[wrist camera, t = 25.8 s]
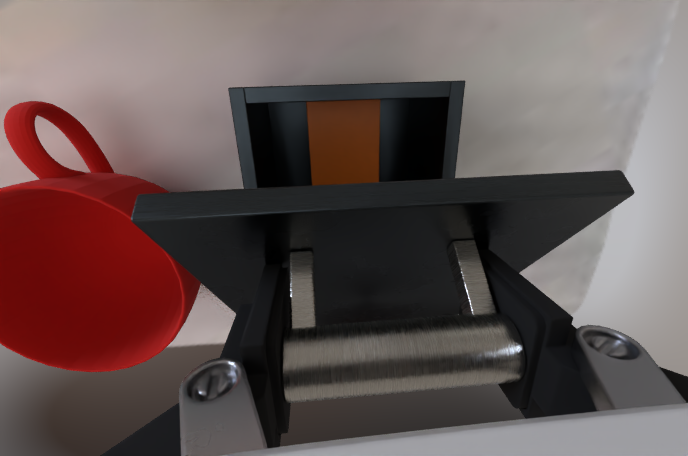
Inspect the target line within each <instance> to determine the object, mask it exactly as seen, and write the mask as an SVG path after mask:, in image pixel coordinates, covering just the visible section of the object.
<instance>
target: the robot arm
mask: <svg viewBox="0 0 688 456" xmlns="http://www.w3.org/2000/svg"><path fill="white" fill-rule="evenodd" d="M478 253H479V256H480V260H481V263H482V266H483V269H484V273H485V276H486V279H487V282H488V286H489V289H490V292H491V295H492V298H493V302H494V305H495V308H496V311H497V312H501V313H504V314H506V315H507V316H508V317H509V318H510V319H511V320H512V321H513V322H514V324H515V325H516V327H517V329H518V330H519V333H520V335H521V337H522V340H523V343H524V347H525V352H526V370H525V373H524V376H523V377H522V378H521V379H520V380H519V381H517V382H511V383H500V384H499V386H500V388H501V389H502V391H503V392H504V394H505V395H506V397H507V398H508V400H509V401H510V402H511V404H512V405H513V407H515V408H519V409H520V411H521V412H522V414H523V415H524V417H525V418H526V419H520V420H511V421H503V422H493V423H483V424H474V425H465V426H456V427H446V428H437V429H428V430H420V431H411V432H401V433H393V434H384V435H375V436H367V437H358V438H350V439H340V440H332V441H323V442H315V443H307V444H299V445H291V446H284V447H280V439H281V434H282V433H287V432H288V428H289V416H290V404H291V403H287V402H285V400H284V398H283V393H282V386H281V343H282V336H283V332H284V330H285V329H286V328H290V278H289V270H288V267H287V268H283V267H282V264H271V265H265V266H264V269H263V273H262V276H261V279H260V282H259V285H258V288H257V292H256V295H255V298H254V301H253V303H252V304H242V305H240V307H239V309H238V311H237V314H236V317H235V319H234V322H233V325H232V327H231V330H230V333H229V335H228V338H227V340H226V343H225V346H224V348H223V351H222V354H221V356H220V358H217V359H213V360H210V361H207V362H205V363H203V364H201V365H199V366H198V367H196V368H195V369H194V370H192V371H191V372H190V373H189V374H188V375H187V376H186V377H185V378H184V380H183V382H182V384H181V386H180V391H179V403H178V404H176V405H175V406H173V407H172V408H170V409H169V410H167V411H166V412H164V413H163V414H161V415H160V416H159V417H157V418H155V419H154V420H152V421H151V422H150V423H148V424H147V425H145V426H144V427H142V428H141V429H139V430H138V431H136V432H135V433H133V434H132V435H130V436H129V437H127V438H126V439H125V440H123V441H121V442H120V443H119V444H117V445H116V446H114V447H113V448H111V449H110V450H108V451H107V452H105V453H104V454H102V455H101V456H688V377H687V376H684V375H681V374H678V373H675V372H672V371H670V370H667V369H664V368H661V367H658V365H657V364H656V363H655V361H654V360H653V359H652V358H651V356H650V355H649V354H648V352H647V351H646V350H645V349H644V348H643V347H642V346H641V345H640V344H639V343H638V342H637V341H635V340H634V339H632V338H631V337H629V336H627V335H625V334H623V333H621V332H619V331H616V330H613V329H610V328H606V327H602V326H595V325H587V326H581V327H580V328H578V329H576V328H575V327H574V326H573V325H571V324H572V320H573V317H572V316H571V315H569V314H568V313H567V312H566V311H565V310H563V309H562V308H561V307H560V306H558V305H557V304H556V303H555V302H554V301H552V300H551V299H550V298H549V297H547V296H546V295H545V294H544V293H542V292H541V291H540V290H539V289H538V288H536V287H535V286H534V285H533V284H531V283H530V282H529V281H528V280H527V279H525V278H524V277H523V276H522V275H520V274H519V273H518V272H517V271H516V270H514V269H513V268H512V267H511V266H509V265H508V264H507V263H506V262H505V261H503V260H502V259H501V258H500V257H498V256H497V255H496V254H495V253H493V252H492V251H491V250H489V249H485V250H478ZM461 314H463V312H462V308H461V304H460V310H459V315H461Z"/></svg>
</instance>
